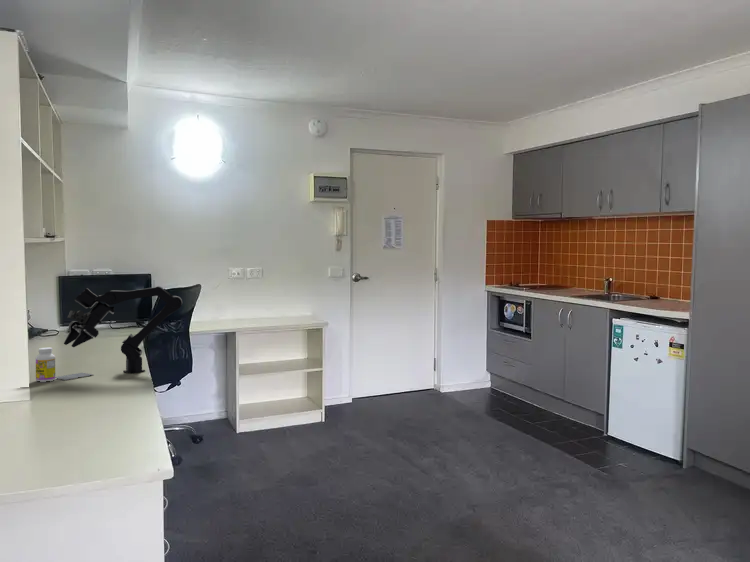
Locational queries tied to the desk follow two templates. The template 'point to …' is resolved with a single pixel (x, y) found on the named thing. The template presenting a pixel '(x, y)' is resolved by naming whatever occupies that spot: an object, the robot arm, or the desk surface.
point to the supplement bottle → (45, 365)
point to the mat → (73, 376)
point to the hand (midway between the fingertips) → (68, 345)
